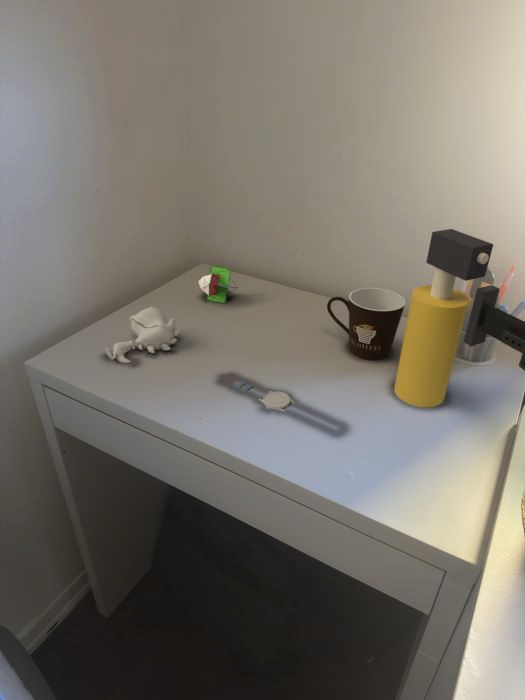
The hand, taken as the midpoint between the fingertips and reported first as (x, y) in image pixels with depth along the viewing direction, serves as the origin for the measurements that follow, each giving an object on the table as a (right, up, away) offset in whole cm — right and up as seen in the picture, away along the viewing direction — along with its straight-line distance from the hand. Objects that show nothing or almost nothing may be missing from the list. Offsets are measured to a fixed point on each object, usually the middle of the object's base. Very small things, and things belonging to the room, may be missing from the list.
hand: (488, 319), depth 58 cm
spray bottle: (-4, -10, +14) cm, 18 cm away
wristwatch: (-24, -12, +11) cm, 29 cm away
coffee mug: (-10, -4, +25) cm, 27 cm away
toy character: (-46, -4, +23) cm, 52 cm away
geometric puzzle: (-35, +6, +41) cm, 55 cm away
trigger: (-1, -3, +3) cm, 4 cm away
